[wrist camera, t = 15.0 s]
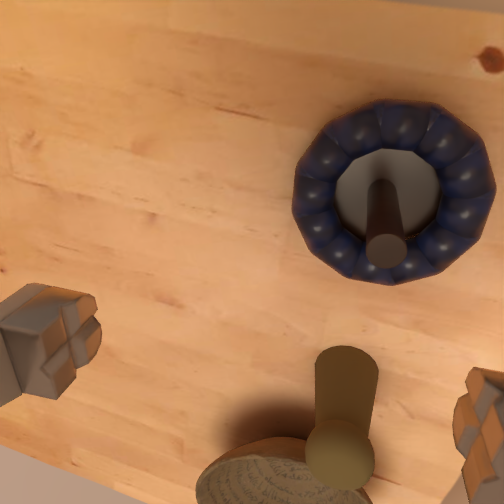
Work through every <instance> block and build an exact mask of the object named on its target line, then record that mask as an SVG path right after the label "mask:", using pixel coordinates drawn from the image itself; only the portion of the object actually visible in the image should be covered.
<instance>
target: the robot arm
mask: <svg viewBox="0 0 504 504" xmlns="http://www.w3.org/2000/svg"><path fill="white" fill-rule="evenodd" d="M97 310H98V308H97V304H96V300H95V297H93V296H92V295H90V294H87V293H83V292H78V291H73V290H69V289H64V288H59V287H55V286H53V287H52V286H48V285H44V284H39V283H31V284H27V285H26V286H24V287H23V288H21V289H20V290H18V291H17V292H15V293H14V294H12V295H11V296H9V297H8V298H7V299H5V300H4V301H2V302H1V303H0V407H1V406H3V405H5V404H6V403H8V402H10V401H12V400H14V399H15V398H17V397H19V396H21V395H22V393H27V394H31V395H36V396H40V397H45V398H49V399H54V400H57V399H58V398H59V397H60V395H61V394H62V393H63V392H64V391H65V390H66V389H67V387H68V386H69V385H70V384H71V383H72V382H73V381H74V380H75V378H76V369H78V368H80V367H82V366H84V365H86V364H89V362H90V361H91V360H92V359H93V358H94V356H95V355H96V354H97V351H98V349H99V347H100V344H101V339H102V330H101V324H100V323H99V322H98V321H97V320H96V318H95V317H94V314H95V313H96V311H97ZM465 383H466V386H467V390H468V393H467V394H465V395H463V396H461V397H460V398H458V400H457V403H456V406H455V409H454V414H453V424H452V426H453V437H454V441H455V446H456V449H457V450H458V451H459V452H460V453H461V454H462V455H463V456H464V458H465V459H466V461H465V463H464V465H463V467H462V470H461V471H462V475H463V479H464V484H465V488H466V491H467V495H468V500H469V504H504V372H500V371H495V370H489V369H484V368H478V367H473V368H472V369H471V370H470V372H469V373H468V376H467V378H466V381H465Z"/></svg>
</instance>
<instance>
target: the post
mask: <svg viewBox="0 0 504 504" xmlns="http://www.w3.org/2000/svg"><path fill="white" fill-rule="evenodd" d="M442 194H443V192H442V189H441V186H440V183H439V180H438V177H437V174H436V171H435V168H433V167H432V166H431V165H429V164H428V163H427V162H425V161H424V160H423V159H421V158H420V157H419V156H418V155H416V154H415V153H414V152H412V151H403V150H393V149H383V148H382V149H379V150H377V151H374V152H372V153H370V154H367V155H365V156H362V157H360V158H357V159H355V160H354V161H353V162H352V163H351V164H350V166H349V167H348V168H347V169H346V171H345V172H344V173H343V174H342V175H341V177H340V178H339V179H338V180H337V184H336V190H335V197H334V203H333V206H334V208H335V210H336V213H337V215H338V217H339V220H340V222H341V224H342V227H344V228H345V229H346V230H348V231H349V232H351V233H352V234H353V235H355V236H356V237H357V238H359V239H360V240H361V241H364V242H366V256H367V258H368V260H369V261H370V262H371V263H372V264H373V265H375V266H377V267H379V268H393V267H396V266H398V265H399V264H401V263H402V262H403V261H404V259H405V258H406V255H407V245H406V240H405V237H409V236H412V235H415V234H418V233H420V232H421V231H422V230H423V229H425V228H426V227H427V226H428V225H429V224H430V223H431V222H432V221H433V220H434V219H435V218H436V215H437V211H438V208H439V204H440V201H441V197H442Z"/></svg>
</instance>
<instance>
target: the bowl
mask: <svg viewBox="0 0 504 504" xmlns="http://www.w3.org/2000/svg"><path fill="white" fill-rule="evenodd" d="M306 442H307V441H306V440H302V439H297V438H292V437H271V438H266V439H262V440H259V441H256V442H252V443H248V444H246V445H243V446H240V447H238V448H235V449H233V450H231V451H229V452H227V453H225V454H223V455H222V456H220V457H219V458H218V459H216V460H215V461H214V462H213V463H211V464H210V465H209V466H208V467H207V468H206V469H205V470H204V471H203V473H202V474H201V475H200V477H199V479H198V481H197V483H196V499H197V503H198V504H373V503H372V501H371V500H370V498H369V496H368V495H367V493H366V492H365V490H364V489H363V487H361V488H359V489H355V490H338V489H333V488H331V487H328V486H326V485H324V484H322V483H321V482H319V481H318V480H317V479H316V478H315V477H314V476H313V475H312V474H311V472H310V470H309V468H308V466H307V464H306V457H305V446H306Z"/></svg>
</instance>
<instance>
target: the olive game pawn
mask: <svg viewBox="0 0 504 504" xmlns="http://www.w3.org/2000/svg"><path fill="white" fill-rule="evenodd" d="M377 382H378V368H377V365H376V363H375V361H374V360H373V359H372V358H371V357H370V356H369V355H368V354H366V353H365V352H363V351H362V350H359V349H356V348H354V347H349V346H336V347H331V348H329V349H327V350H325V351H323V352H322V353H321V354H320V355H319V356H318V357H317V360H316V362H315V428H314V429H313V430H312V431H311V433H310V435H309V437H308V439H307V442H306V446H305V457H306V464H307V466H308V468H309V470H310V472H311V474H312V475H313V476H314V477H315V478H316V479H317V480H318V481H319V482H321V483H322V484H324V485H326V486H328V487H331V488H333V489H338V490H355V489H359V488H361V487H362V486H364V485H365V484H366V483H367V482H368V481H369V479H370V477H371V476H372V474H373V471H374V462H375V459H374V451H373V447H372V445H371V442H370V440H369V439H368V434H369V428H370V422H371V416H372V411H373V405H374V399H375V393H376V388H377Z"/></svg>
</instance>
